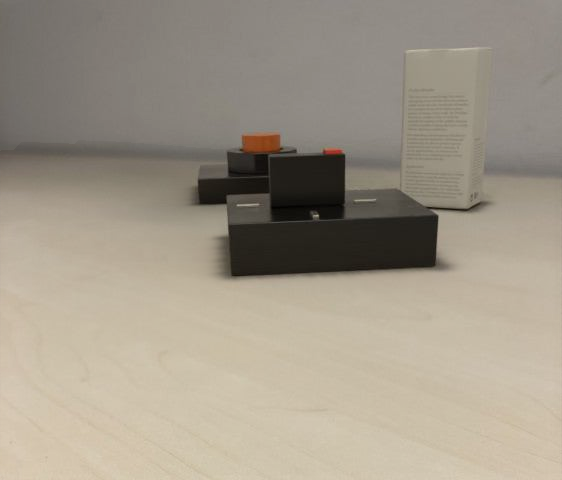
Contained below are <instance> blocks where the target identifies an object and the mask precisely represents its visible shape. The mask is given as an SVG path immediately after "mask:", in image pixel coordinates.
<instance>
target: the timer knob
mask: <svg viewBox="0 0 562 480" xmlns="http://www.w3.org/2000/svg"><path fill="white" fill-rule="evenodd" d="M268 166H269V198H270V205H271V207H287V206H312V205H336V204H345V190H346V153H344V152H343V149H342V148H340V147H328V148H327V147H325V148H322V152H297V153H290V154H269V155H268Z"/></svg>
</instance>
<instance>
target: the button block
mask: <svg viewBox="0 0 562 480" xmlns="http://www.w3.org/2000/svg"><path fill="white" fill-rule="evenodd" d="M290 153H298V149H297V148H296V147H294V146H287V145H281V150H278V151H267V152H245V151H242V146H240V147H239V146H238V147H232V148H229V149H226V161H227V162H226V163H219V164H218V163H217V164H200V165H199V169H198V174H197V190H198V204H200V205H209V204H211V205H212V204H227V200H226V196H227V195H244V194H269V166H268V155H269V154H290Z"/></svg>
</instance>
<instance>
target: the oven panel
mask: <svg viewBox="0 0 562 480" xmlns="http://www.w3.org/2000/svg"><path fill="white" fill-rule="evenodd" d="M226 200H227V203H226V214H227V216H226V218H227V232H228V246H229V247H228V248H229V260H230V261H229V263H230V274H231V276H233V277H234V276H251V275H274V274H275V275H277V274H294V273H295V274H297V273H315V272H319V273H320V272H338V271H357V270H379V269H381V270H382V269H401V268H403V269H404V268H422V267H423V268H424V267H435V266H436V265H437V249H438V231H439V217H440V216H439V214H437V213H436V212H434V211H433V210H431V209H429V207H425V206H423V205H422V204H420V203H419V202H417V201H416V200H414V199H413V198H411V197H410V196H408V195H406V194H405V193H403V192H402V191H400V188H397V187H396V188H375V189H374V188H373V189H372V188H371V189H349V190H346V189H345V204H336V205H312V206H287V207H271V205H270V198H269V194H244V195H227V196H226Z"/></svg>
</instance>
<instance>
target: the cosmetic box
mask: <svg viewBox="0 0 562 480" xmlns="http://www.w3.org/2000/svg"><path fill="white" fill-rule="evenodd" d="M493 51H494V50H493V48H492V47H485V46H484V47H483V46H482V47H463V48H429V49H428V48H427V49H426V48H425V49H408V50H405V51H404V52H403V80H402V81H403V82H402V83H403V85H402V87H403V88H402V115H401V117H402V118H401V140H400V141H401V145H400V172H399V190H400V191H402V192H403V193H405V194H406V195H408V196H410V197H411V198H413V199H414V200H416V201H417V202H419V203H420V204H422V205H423V206H425V207H426V208H438V209H454V210H468V209H470V208H472V207H473V206H475V205H477V204H479V203H480V202H482V199H483V186H484V185H483V184H484V172H485V160H486V147H487V135H488V134H487V132H488V119H489V105H490V94H491V81H492V66H493V53H494V52H493Z"/></svg>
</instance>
